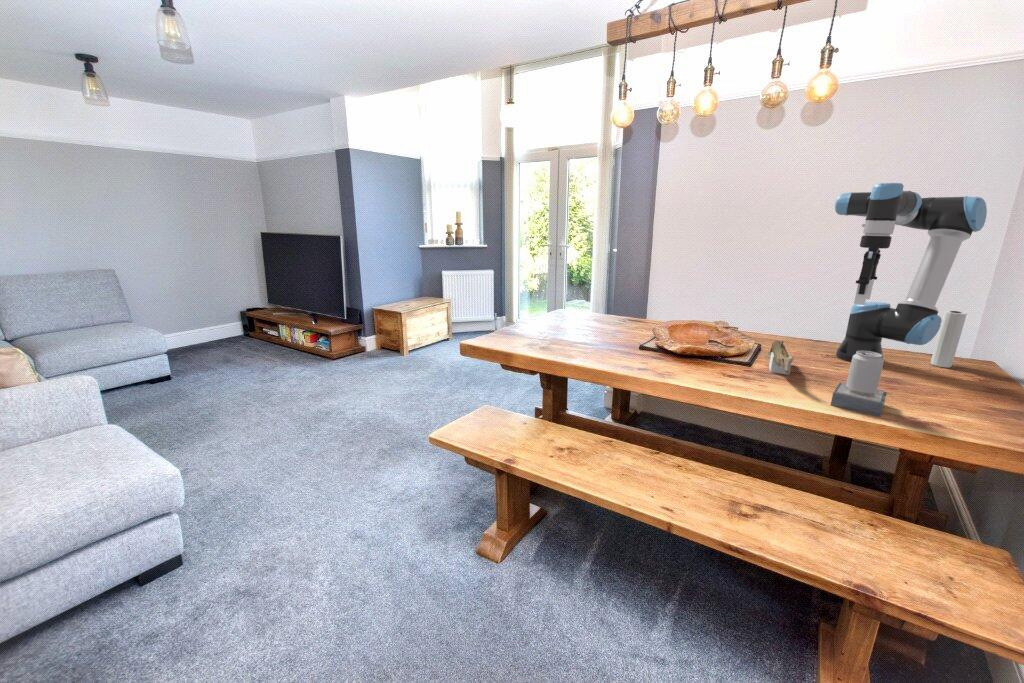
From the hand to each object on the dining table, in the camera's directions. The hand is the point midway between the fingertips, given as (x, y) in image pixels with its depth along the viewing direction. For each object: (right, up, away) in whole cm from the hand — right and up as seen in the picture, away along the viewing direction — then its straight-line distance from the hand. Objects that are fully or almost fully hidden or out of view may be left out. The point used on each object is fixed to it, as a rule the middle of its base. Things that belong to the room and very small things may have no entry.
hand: (861, 301), depth 148 cm
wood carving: (-16, -25, +18) cm, 35 cm away
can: (-9, -28, -11) cm, 31 cm away
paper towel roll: (+53, -23, +28) cm, 64 cm away
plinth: (-9, -32, -10) cm, 35 cm away
